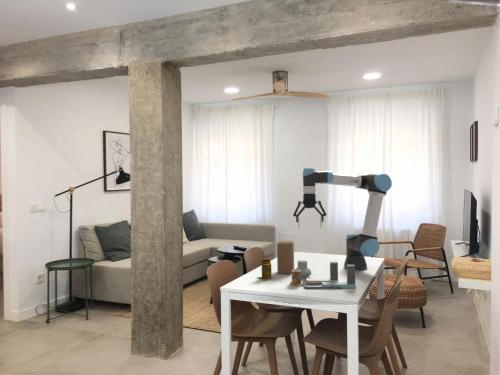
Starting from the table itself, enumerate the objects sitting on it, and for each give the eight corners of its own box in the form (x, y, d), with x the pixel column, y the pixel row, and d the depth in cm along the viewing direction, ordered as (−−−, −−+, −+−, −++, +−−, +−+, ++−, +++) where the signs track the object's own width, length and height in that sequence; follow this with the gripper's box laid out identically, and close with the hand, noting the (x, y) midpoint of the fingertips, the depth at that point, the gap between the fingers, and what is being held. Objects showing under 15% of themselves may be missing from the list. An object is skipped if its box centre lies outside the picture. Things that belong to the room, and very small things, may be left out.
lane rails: (336, 280, 247) (336, 278, 247) (341, 288, 229) (341, 286, 229) (302, 280, 248) (302, 278, 248) (304, 288, 230) (304, 286, 230)
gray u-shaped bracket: (336, 281, 245) (336, 261, 245) (338, 283, 239) (338, 263, 239) (306, 281, 246) (305, 261, 246) (306, 283, 240) (306, 263, 240)
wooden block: (292, 274, 266) (292, 243, 265) (277, 273, 268) (276, 242, 267) (294, 270, 275) (293, 240, 275) (279, 270, 277) (278, 240, 277)
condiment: (274, 278, 255) (273, 259, 255) (261, 280, 251) (261, 260, 251) (268, 276, 262) (268, 257, 261) (256, 278, 258) (256, 258, 258)
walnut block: (300, 281, 243) (300, 269, 242) (301, 283, 238) (300, 271, 237) (291, 281, 243) (291, 269, 243) (292, 283, 238) (292, 271, 238)
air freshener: (292, 276, 261) (292, 260, 261) (304, 274, 265) (303, 259, 264) (300, 279, 251) (300, 263, 251) (312, 278, 254) (312, 262, 254)
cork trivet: (302, 282, 244) (302, 281, 244) (303, 285, 237) (302, 284, 237) (290, 282, 244) (290, 281, 244) (290, 285, 237) (290, 284, 237)
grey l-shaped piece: (353, 285, 236) (353, 264, 235) (355, 288, 230) (355, 266, 229) (321, 285, 237) (321, 264, 237) (322, 288, 231) (322, 266, 231)
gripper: (329, 192, 259) (329, 226, 260) (288, 193, 261) (289, 227, 262) (330, 192, 252) (331, 227, 252) (289, 193, 254) (289, 228, 254)
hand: (309, 227), depth 257 cm, fingers open, 13 cm apart
